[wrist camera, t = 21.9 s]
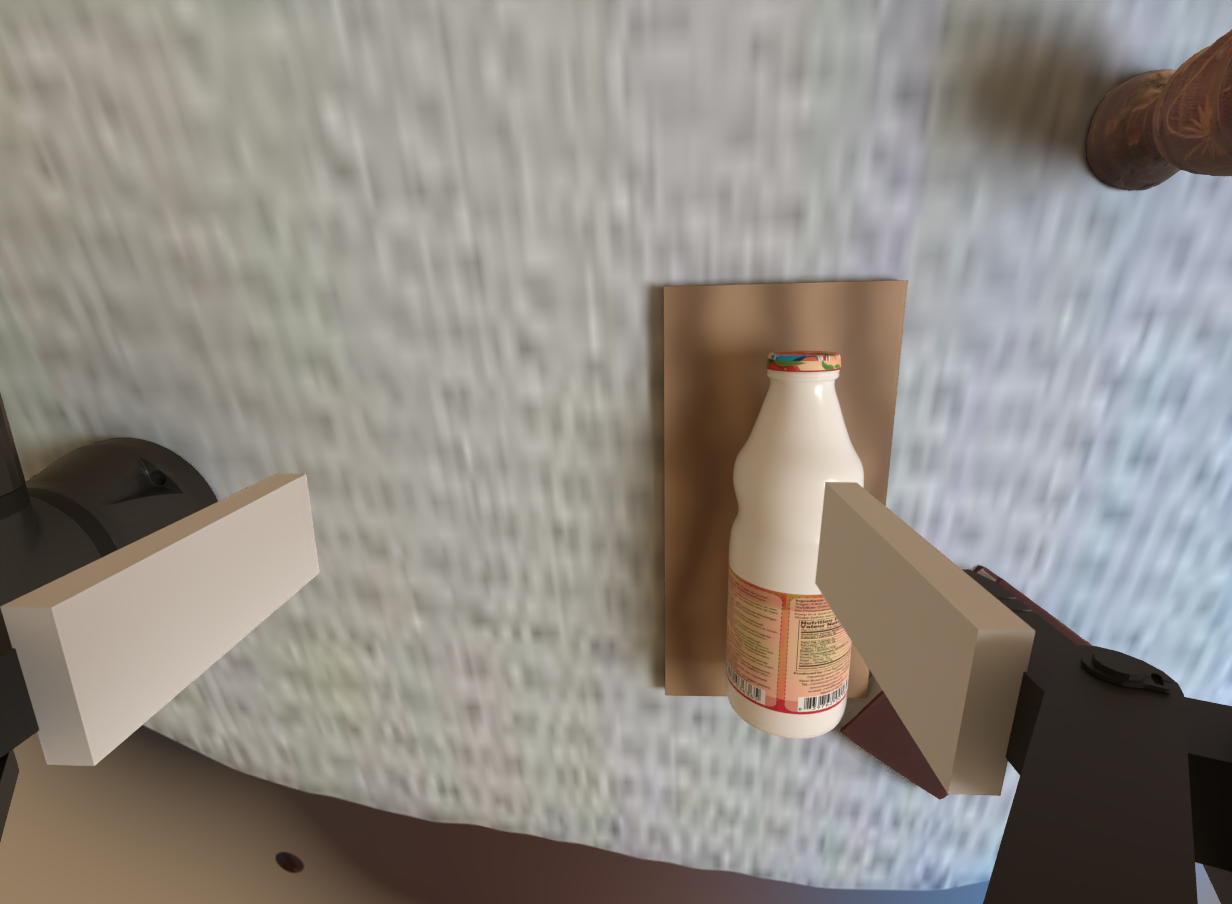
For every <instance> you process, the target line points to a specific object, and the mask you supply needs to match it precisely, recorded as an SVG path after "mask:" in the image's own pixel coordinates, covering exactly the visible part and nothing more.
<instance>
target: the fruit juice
mask: <svg viewBox="0 0 1232 904" xmlns="http://www.w3.org/2000/svg"><path fill="white" fill-rule="evenodd" d="M766 368H767V376H768V377H769V378H770V387H769V390H768V392H767V395H766V397H765V400H764V402H763V405H762V407H761V410H760V412H759V415H758V417H757V420H756V422H755V425H754V427H753V429H752V432H751V434H750V436H749V438H748V440H747V441H746V443H745V445H744V446H743V448H742V449H741V450H740V452H739V454H738V455H737V458H736V460H735V464H734V472H733V485H734V490H735V494H736V498H737V502H738V514H737V517H736V518H735V520H734V522H733V525H732V529H731V534H730V543H729V569H728V604H727V638H726V674H725V684H726V692H727V696H728V700H729V702H730V704H731V706H732V708H733V709H734V711H735V712H736V713H737V714H738V715H739V716H740V717H741V718H742V719H743V720H744V721H746V722H747V723H748V724H750V725H751V726H753V727H755V728H757V729H759V730H761V731H763V732H766V733H769V734H772V735H775V736H779V737H784V738H793V739H804V738H812V737H817V736H820V735H823V734H825V733H827V732H829V731H831V730H832V729H833V728H834V727H836V725H837V724H838V723H839V722H840V720H841V718H842V716H843V714H844V710H845V706H846V701H847V690H848V679H849V668H850V657H851V646H852V641H851V639H850V638H849V636H848V634H847V633H846V631H845V630H844V628H843V626H842V625H841V623H840V622H839V620H838V619H837V617H836V615H835V614H834V612H833V611H832V609H831V607H830V606H829V604H828V603H827V601H826V599H825V598H824V596H823V595H822V593H821V592H820V590H819V588H818V587H817V585H816V584H815V579H816V570H817V560H818V550H819V540H820V530H821V521H822V511H823V501H824V491H825V482H857V483H858V484H859V485H860V486H862V487H863V488H864V471H863V466H862V463H861V460H860V458H859V456H858V455H857V453H856V451H855V449H854V447H853V445H852V443H851V441H850V438H849V435H848V432H847V429H846V425H845V422H844V419H843V415H842V412H841V408H840V404H839V401H838V398H837V394H836V391H835V380H836V379H837V378H838V377H839V372H840V369H841V357H840V354H839V353H835V352H828V351H779V352H772V353H769V355H768V357H767V364H766Z"/></svg>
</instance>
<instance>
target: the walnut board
mask: <svg viewBox="0 0 1232 904" xmlns="http://www.w3.org/2000/svg"><path fill="white" fill-rule="evenodd" d="M907 284H908V280H895V281H858V282H821V283H784V284H747V285H710V286H673V287H663V314H664V567H665V695H673V696H727V692H726V684H725V674H726V638H727V604H728V569H729V543H730V534H731V529H732V525H733V522H734V520H735V518H736V517H737V514H738V502H737V498H736V494H735V490H734V485H733V472H734V464H735V460H736V458H737V455H738V454H739V452H740V450H741V449H742V448H743V446H744V445H745V443H746V441H747V440H748V438H749V436H750V434H751V432H752V429H753V427H754V425H755V422H756V420H757V417H758V415H759V412H760V410H761V407H762V405H763V402H764V400H765V397H766V395H767V392H768V390H769V387H770V378H769V377H768V376H767V368H766V364H767V357H768V355H769V353H772V352H779V351H828V352H835V353H839V354H840V357H841V369H840V372H839V377H838V378H837V379H836V380H835V391H836V394H837V398H838V401H839V404H840V408H841V412H842V415H843V419H844V422H845V425H846V429H847V432H848V435H849V438H850V441H851V443H852V445H853V447H854V449H855V451H856V453H857V455H858V456H859V458H860V460H861V463H862V466H863V471H864V489H865V490H866V491H868V492H869V493H870V494H871V495H872V496H874V497H875V498H876V499H877V500H878V501H880V502H881V503H882V504H883V505H884V506H886V496H887V486H888V476H889V466H890V456H891V446H892V436H893V425H894V415H895V405H896V395H897V385H898V375H899V365H900V355H901V345H902V335H903V324H904V314H905V304H906V294H907ZM868 678H869V668H868V666H867V665H866V663H865V661H864V660H863V658H862V657H861V655H860V653H859V652H858V650H857V649H856V647H855V646H854V644H853V642H852V646H851V657H850V668H849V679H848V690H847V698H867V688H868Z"/></svg>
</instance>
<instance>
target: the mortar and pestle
mask: <svg viewBox="0 0 1232 904" xmlns="http://www.w3.org/2000/svg"><path fill="white" fill-rule="evenodd" d="M1087 160H1088V161H1089V165H1090V167H1091V169H1092V170H1093V171H1094V173H1095V174H1096V175H1097V176H1098V177H1099V178H1100V179H1101V180H1102V181H1104V182H1106V183H1108V184H1110V185H1112V186H1114V187H1117V188H1121V189H1124V190H1125V189H1127V190H1146V189H1149V188H1151V187H1154V186H1157V185H1159V184H1160V183H1162V182H1164V181H1165V180H1167V179H1168V178H1170V177H1171V176H1173V175H1174V174H1175V173H1177V172H1178V171H1179V170H1185V171H1188V172H1190V173H1194V174H1203V175H1211V176H1232V30H1230V31H1229V32H1228V33H1227V34H1225V35H1224V36H1222V37H1221V38H1219V39H1218V40H1217V41H1216V42H1214V43H1213V44H1212V45H1211V46H1209V47H1207V48H1205V49H1203V50H1201V51H1200V52H1198V53H1196V54H1194V55H1193V56H1192V57H1191V58H1189V59H1188V60H1187V61H1186V62H1185V63H1183V64H1182V65H1181V66H1180V67H1179V68H1178V69H1177V70H1176V71H1175V70H1172V69H1164V70H1155V71H1149V72H1146V73H1142V74H1139V75H1136V76H1134V77H1132V78H1130V79H1129V80H1127V81H1125V82H1123V83H1122V84H1120V85H1118V86H1117V87H1115V88H1113V89H1112V90H1110V91H1108V92H1107V94H1106V97H1105V99H1104V100H1103V101H1102V102H1101V103H1100V105H1099V106H1098V108H1097V111H1096V113H1095V115H1094V117H1093V120H1092V123H1091V127H1090V130H1089V134H1088V137H1087Z"/></svg>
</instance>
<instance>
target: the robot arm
mask: <svg viewBox="0 0 1232 904" xmlns="http://www.w3.org/2000/svg"><path fill="white" fill-rule="evenodd" d="M319 573H320V572H319V564H318V557H317V550H316V543H315V535H314V528H313V521H312V513H311V506H310V499H309V492H308V484H307V477H306V474H275V475H273V476H271V477H268V478H266V479H264V480H262V481H260V482H258V483H256V484H254V485H252V486H250V487H248V488H246V489H244V490H241V491H239V492H237V493H235V494H233V495H231V496H229V497H227V498H225V499H223V500H221V501H219V502H218V501H217V499H216V497H215V495H214V493H213V491H212V489H211V488H210V486H209V485H208V483H207V482H206V481H205V479H204V478H203V477H202V476H201V475H200V473H199V472H198V471H197V470H196V469H195V468H194V467H193V466H191V465H190V464H189V463H188V462H187V461H185V460H184V459H183V458H181V457H180V456H179V455H177V454H175V453H174V452H172V451H170V450H168V449H167V448H164V447H162V446H160V445H157V444H155V443H152V442H148V441H144V440H139V439H132V438H117V439H110V440H106V441H102V442H98V443H94V444H90V445H86V446H83V447H80V448H78V449H75V450H73V451H71V452H69V453H67V454H65V455H64V456H62V457H61V458H59V459H58V460H56V461H55V462H54V463H52V464H51V465H49V466H48V467H46V468H45V469H43V470H42V471H41V472H39V473H38V474H36V475H35V476H33V477H32V478H30V479H29V480H28V481H26V482H25V478H24V475H23V471H22V468H21V464H20V461H19V457H18V454H17V450H16V447H15V443H14V439H13V436H12V432H11V429H10V425H9V422H8V418H7V415H6V411H5V408H4V404H3V401H2V397H1V393H0V841H1V837H2V834H3V830H4V826H5V822H6V818H7V814H8V811H9V807H10V803H11V800H12V796H13V792H14V788H15V784H16V780H17V777H18V773H19V768H18V764H17V760H16V757H15V754H14V751H13V749H14V748H15V747H16V746H18V745H19V744H21V743H22V742H23V741H25V740H26V739H28V738H29V737H30V736H32V735H33V734H35V733H36V732H38V736H39V739H40V742H41V746H42V749H43V753H44V756H45V759H46V762H47V764H48V765H79V766H95V765H96V764H97V763H98V762H99V761H101V760H102V759H103V758H104V757H105V756H107V755H108V754H109V753H110V752H111V751H112V750H114V748H116V747H117V746H118V745H119V744H120V743H122V742H123V741H124V740H125V739H126V738H127V737H129V736H130V735H131V734H132V733H133V732H135V731H136V730H137V729H138V728H139V727H140V726H141V725H143V724H144V723H145V722H146V721H147V720H148V719H150V718H151V717H152V716H153V715H154V714H155V713H157V712H158V711H159V710H160V709H161V708H162V707H164V706H165V705H166V704H167V703H168V702H169V701H171V700H172V699H173V698H174V697H175V696H176V695H178V694H179V693H180V692H181V691H182V690H183V689H185V688H186V687H187V686H188V685H189V684H190V683H192V682H193V681H194V680H195V679H196V678H197V677H199V676H200V675H201V674H202V673H203V672H204V671H206V670H207V669H208V668H209V667H210V666H211V665H213V664H214V663H215V662H216V661H217V660H218V659H220V658H221V657H222V656H223V655H224V654H225V653H227V652H228V651H229V650H230V649H231V648H232V647H234V646H235V645H236V644H237V643H238V642H239V641H241V640H242V639H243V638H244V637H245V636H246V635H248V634H249V633H250V632H251V631H252V630H253V629H254V628H256V627H257V626H258V625H259V624H260V623H261V622H263V621H264V620H265V619H266V618H267V617H268V616H270V615H271V614H272V613H273V612H274V611H275V610H277V609H278V608H279V607H280V606H281V605H282V604H284V603H285V602H286V601H287V600H288V599H289V598H291V597H292V596H293V595H294V594H295V593H296V592H298V591H299V590H300V589H301V588H302V587H303V586H305V585H306V584H307V583H308V582H309V581H310V580H312V579H313V578H314V577H315V576H316V575H317V574H319ZM815 584H816V585H817V587H818V588H819V590H820V592H821V593H822V595H823V596H824V598H825V599H826V601H827V603H828V604H829V606H830V607H831V609H832V611H833V612H834V614H835V615H836V617H837V619H838V620H839V622H840V623H841V625H842V626H843V628H844V630H845V631H846V633H847V634H848V636H849V638H850V639H851V641H852V642H853V644H854V646H855V647H856V649H857V650H858V652H859V653H860V655H861V657H862V658H863V660H864V661H865V663H866V665H867V666H868V668H869V669H870V671H871V673H872V674H873V676H874V677H875V679H876V681H877V682H878V684H879V685H880V687H881V688H882V690H883V692H884V693H885V695H886V696H887V698H888V700H889V701H890V703H891V704H892V706H893V708H894V709H895V711H896V712H897V714H898V715H899V717H900V719H901V720H902V722H903V723H904V725H905V727H906V728H907V730H908V731H909V733H910V735H911V736H912V738H913V739H914V741H915V742H916V744H917V746H918V747H919V749H920V750H921V752H922V754H923V755H924V757H925V758H926V760H927V762H928V763H929V765H930V766H931V768H932V769H933V771H934V773H935V774H936V776H937V777H938V779H939V781H940V782H941V784H942V785H943V787H944V789H945V790H946V792H947V793H948V794H967V795H998V796H1000V795H1001V790H1002V785H1003V781H1004V776H1005V771H1006V767H1007V762H1008V761H1009V762H1010V763H1011V765H1012V766H1013V767H1014V768H1015V770H1016V771H1017V772H1018V773H1019V775H1020V779H1019V782H1018V786H1017V789H1016V793H1015V796H1014V799H1013V803H1012V806H1011V810H1010V813H1009V817H1008V820H1007V823H1006V827H1005V830H1004V834H1003V837H1002V841H1001V844H1000V847H999V851H998V854H997V858H996V861H995V865H994V868H993V872H992V875H991V878H990V882H989V885H988V889H987V892H986V896H985V899H984V902H983V904H1198V903H1197V889H1196V873H1195V862H1197V863H1201V864H1203V866H1204V868H1205V870H1206V872H1207V874H1208V877H1209V879H1210V881H1211V883H1212V885H1213V887H1214V889H1215V891H1216V894H1217V896H1218V898H1219V900H1220V902H1221V904H1232V706H1227V705H1222V704H1217V703H1212V702H1207V701H1201V700H1196V699H1191V698H1186V697H1184V694H1183V692H1182V690H1181V689H1180V687H1179V685H1178V683H1176V682H1175V681H1174V680H1173V679H1171V678H1170V677H1169V676H1168V675H1167V674H1165V673H1164V672H1163V671H1161V670H1159V669H1157V668H1155V667H1153V666H1152V665H1150V664H1148V663H1146V662H1144V661H1142V660H1139V659H1137V658H1134V657H1131V656H1129V655H1126V654H1123V653H1121V652H1118V651H1114V650H1109V649H1105V648H1101V647H1097V646H1086V645H1076V644H1075V643H1074V642H1072V641H1071V640H1070V639H1068V638H1067V637H1066V636H1065V635H1063V634H1062V633H1061V632H1060V631H1058V630H1057V629H1056V628H1054V627H1053V626H1052V625H1051V624H1049V623H1048V622H1047V621H1046V620H1044V619H1043V618H1042V617H1040V616H1039V615H1038V614H1037V613H1032V610H1031V609H1030V608H1029V607H1028V606H1026V605H1025V604H1024V603H1023V602H1021V601H1020V600H1016V597H1015V596H1014V595H1012V594H1011V593H1010V592H1009V591H1007V590H1006V589H1005V588H1003V587H1002V586H1001V585H1000V584H998V583H997V582H995V581H993V580H991V579H989V578H986V577H984V576H982V575H980V574H978V573H976V572H974V571H972V570H962V569H960V568H959V567H958V566H957V565H956V564H954V563H953V562H952V561H951V560H950V559H948V558H947V557H946V556H945V555H944V554H942V553H941V552H940V551H939V550H937V549H936V548H935V547H934V546H933V545H931V544H930V543H929V542H928V541H927V540H925V539H924V538H923V537H922V536H921V535H919V534H918V533H917V532H916V531H915V530H913V529H912V528H911V527H910V526H909V525H907V524H906V523H905V522H904V521H903V520H901V519H900V518H899V517H898V516H897V515H895V514H894V513H893V512H892V511H891V510H889V509H888V508H887V507H886V506H884V505H883V504H882V503H881V502H880V501H878V500H877V499H876V498H875V497H874V496H872V495H871V494H870V493H869V492H868V491H866V490H865V489H864V488H863V487H862V486H860V485H859V484H858V483H857V482H825V491H824V501H823V511H822V521H821V530H820V540H819V550H818V560H817V570H816V579H815Z"/></svg>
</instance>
